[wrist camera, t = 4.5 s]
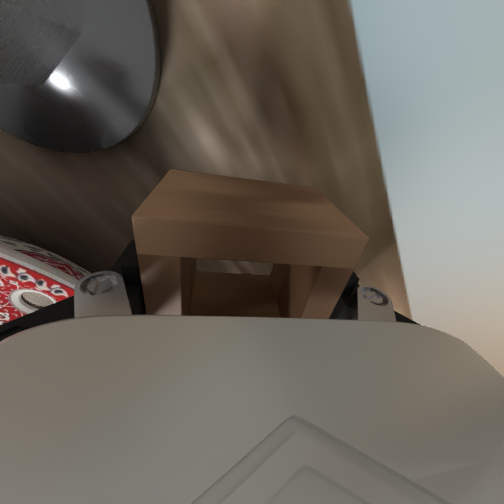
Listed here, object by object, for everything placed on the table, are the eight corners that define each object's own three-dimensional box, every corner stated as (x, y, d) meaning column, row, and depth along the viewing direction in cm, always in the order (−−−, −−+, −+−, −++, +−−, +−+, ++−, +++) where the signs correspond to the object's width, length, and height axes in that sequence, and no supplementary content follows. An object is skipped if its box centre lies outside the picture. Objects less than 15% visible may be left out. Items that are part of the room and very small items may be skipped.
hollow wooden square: (316, 187, 11) (369, 238, 7) (284, 290, 15) (306, 362, 11) (170, 169, 10) (131, 216, 6) (175, 285, 14) (154, 363, 10)
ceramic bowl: (24, 384, 33) (-26, 456, 26) (-317, 205, 15) (-708, 288, 9) (215, 345, 31) (212, 411, 25) (74, 98, 14) (-59, 104, 7)
